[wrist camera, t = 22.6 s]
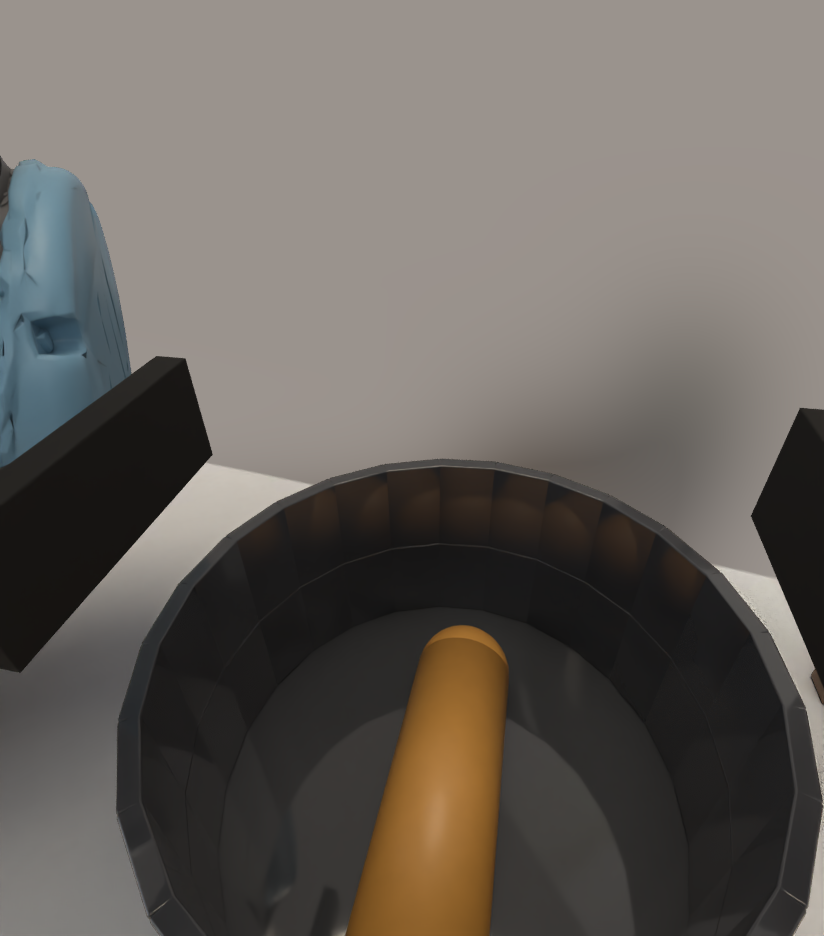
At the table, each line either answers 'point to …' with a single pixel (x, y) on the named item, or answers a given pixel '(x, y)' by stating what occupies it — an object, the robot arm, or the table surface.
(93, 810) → the table surface
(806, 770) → the pot
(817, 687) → the shelf stand
